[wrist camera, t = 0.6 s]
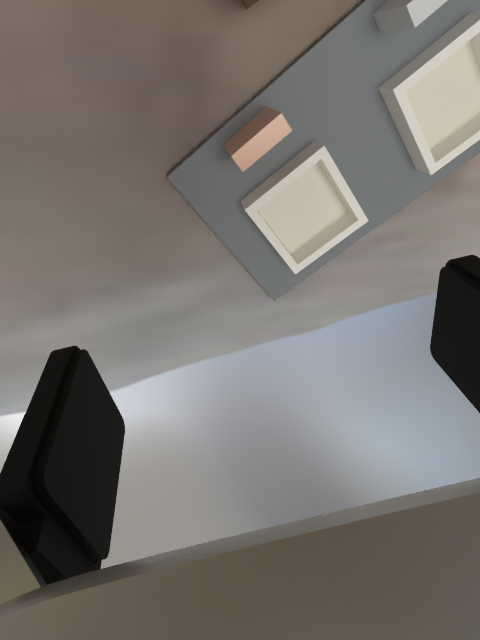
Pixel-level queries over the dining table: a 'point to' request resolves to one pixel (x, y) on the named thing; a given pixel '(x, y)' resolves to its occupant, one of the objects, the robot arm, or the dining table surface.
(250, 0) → the walnut plug
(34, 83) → the dining table surface
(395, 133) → the tag board
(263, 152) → the terracotta tag
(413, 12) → the pale grey tag
